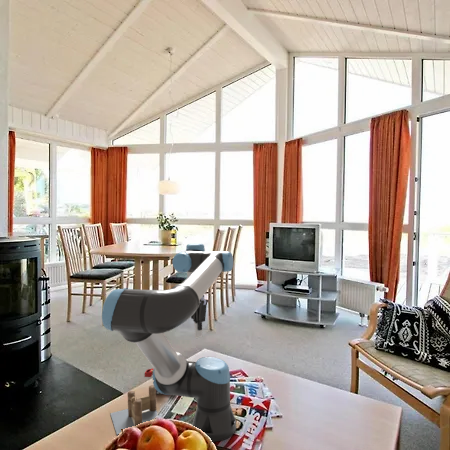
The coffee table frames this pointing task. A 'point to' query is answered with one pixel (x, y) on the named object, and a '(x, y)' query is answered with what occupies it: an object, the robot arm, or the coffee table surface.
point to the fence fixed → (145, 401)
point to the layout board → (129, 419)
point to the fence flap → (135, 407)
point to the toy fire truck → (149, 374)
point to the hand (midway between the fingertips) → (198, 337)
